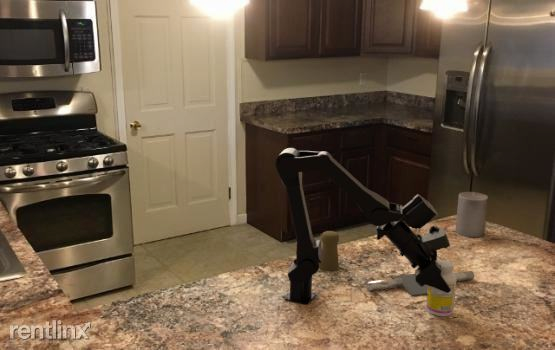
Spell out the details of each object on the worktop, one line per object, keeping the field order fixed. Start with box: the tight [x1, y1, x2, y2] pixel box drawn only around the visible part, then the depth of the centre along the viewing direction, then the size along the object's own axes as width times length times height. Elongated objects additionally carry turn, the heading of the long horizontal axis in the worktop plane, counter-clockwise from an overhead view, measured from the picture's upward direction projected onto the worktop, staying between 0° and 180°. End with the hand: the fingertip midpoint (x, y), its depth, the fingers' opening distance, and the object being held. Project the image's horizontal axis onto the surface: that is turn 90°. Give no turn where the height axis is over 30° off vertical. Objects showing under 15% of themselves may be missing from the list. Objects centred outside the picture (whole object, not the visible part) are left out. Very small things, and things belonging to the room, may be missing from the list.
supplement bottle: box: [425, 259, 457, 317], centre depth 139 cm, size 7×7×13 cm
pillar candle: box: [454, 191, 489, 238], centre depth 195 cm, size 10×10×15 cm
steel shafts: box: [365, 270, 475, 291], centre depth 155 cm, size 32×2×2 cm, turn 105°
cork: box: [319, 230, 340, 273], centre depth 164 cm, size 6×6×11 cm
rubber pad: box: [391, 273, 428, 297], centre depth 155 cm, size 12×12×1 cm
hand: (447, 285), depth 139 cm, fingers closed on supplement bottle, 7 cm apart
